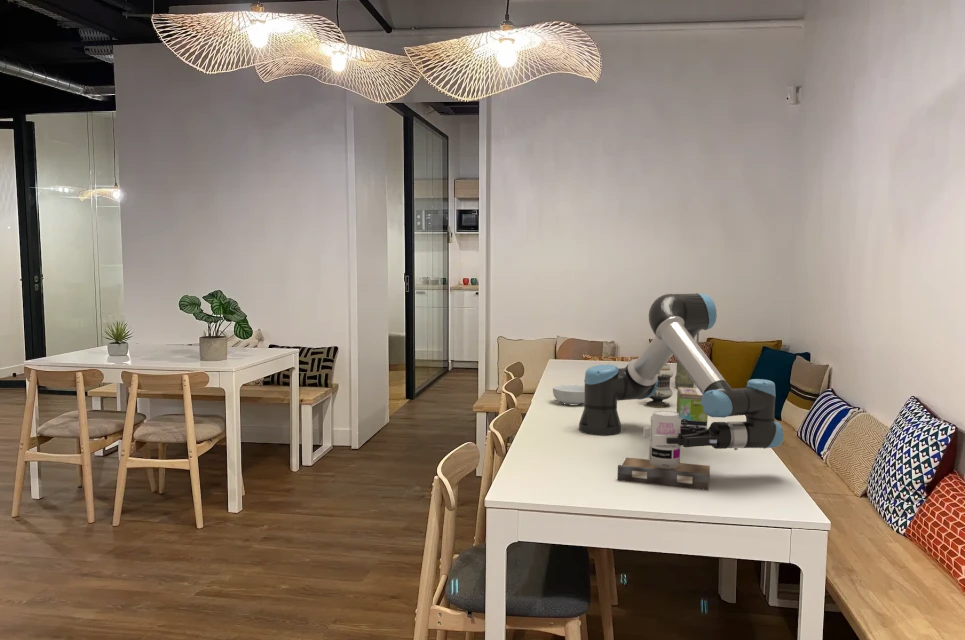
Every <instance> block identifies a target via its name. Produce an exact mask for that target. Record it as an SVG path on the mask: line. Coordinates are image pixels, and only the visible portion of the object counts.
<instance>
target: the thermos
mask: <svg viewBox="0 0 965 640" xmlns="http://www.w3.org/2000/svg"><path fill="white" fill-rule="evenodd" d="M699 332H700V331H699ZM699 332H698V334H697V335H696V342H697V344H698V345H699V341H700V340H699V339H700V337H699V335H700V333H699ZM693 339H694V340H695V337H694V338H693ZM675 373H676V374H675V377H674V385H675V387H674V389H675V388H676V390H678V387H684V388H694V387H695V386H694V385H695V383H694V382H693V381H692V379H691V378H690V376H689V375H688V374H687V372H686V371H685V370H684V368H683V367H682V365H681V364H680V363H679V361H678V360H677V359H676V372H675Z"/></svg>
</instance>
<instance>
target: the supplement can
mask: <svg viewBox="0 0 965 640" xmlns="http://www.w3.org/2000/svg"><path fill="white" fill-rule="evenodd" d="M679 433H680V434H681V418H680V416H679V414H678V413H677V411H672V410H655V411H653V413H652V415H651V416H650V437H649V459H648V460H649V462H650V464H652V466H654V467H656V468H660V469H674V468H677V466H679V464H680V463H681V446H680V445H678V444H677V445H653V444H654V435H678V437H679Z"/></svg>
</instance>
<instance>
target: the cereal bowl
mask: <svg viewBox="0 0 965 640" xmlns="http://www.w3.org/2000/svg"><path fill="white" fill-rule="evenodd" d="M552 394H553V396H554V398H555V400H556V401H558V402H561V403H562V404H563V403H565V404H564V405H566V404H581V403H582V404H583V403H584V399H585V384H578V383H577V384H573V383H572V384H571V383H567V384H566V383H565V384H558V385H553V386H552ZM582 404H581V405H582Z"/></svg>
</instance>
